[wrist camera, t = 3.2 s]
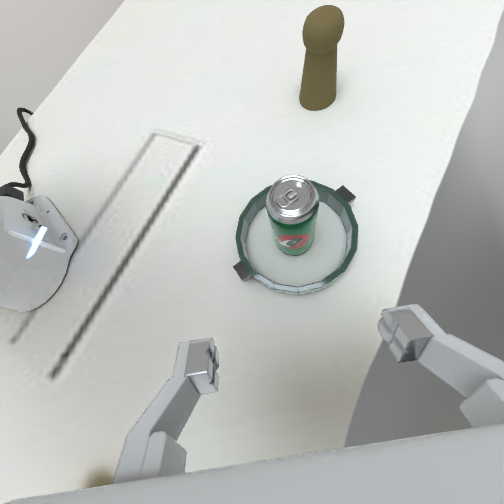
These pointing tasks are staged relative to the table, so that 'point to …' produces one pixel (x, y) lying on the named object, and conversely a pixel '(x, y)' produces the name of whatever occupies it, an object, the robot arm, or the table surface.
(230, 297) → the table surface
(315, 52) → the cork
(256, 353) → the table surface
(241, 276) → the dark green tabbed ring
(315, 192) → the soda can
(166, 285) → the table surface
